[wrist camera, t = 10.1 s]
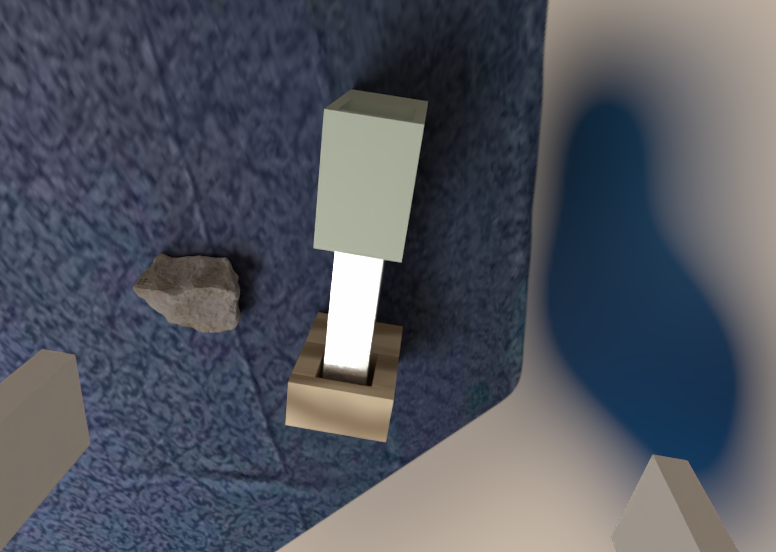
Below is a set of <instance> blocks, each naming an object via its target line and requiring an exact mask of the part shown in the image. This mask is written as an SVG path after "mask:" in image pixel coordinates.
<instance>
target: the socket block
mask: <svg viewBox="0 0 776 552" xmlns="http://www.w3.org/2000/svg"><path fill="white" fill-rule="evenodd" d="M328 317H329V314H326V313H320V312H318V314H317V316H316V319H315V321H314V323H313V326H312V328H311V330H310V333H309V335H308V337H307V340H306V342H305V344H304V347H303V349H302V351H301V353H300V356H299V358H298V360H297V363H296V365H295V367H294V370H293V372H292V374H291V377H290V379H289V381H288V394H287V410H286V425H290V426H295V427H301V428H307V429H313V430H318V431H324V432H330V433H336V434H341V435H347V436H353V437H359V438H364V439H370V440H376V441H382V442H386V438H387V433H388V427H389V422H390V416H391V411H392V405H393V399H394V392H395V384H396V376H397V369H398V361H399V353H400V345H401V338H402V330H403V326H397V325H391V324H385V323H379V322H376V327H375V334H374V340H373V347H372V354H371V361H370V371H369V376H368V381H367V386H363V385H357V384H351V383H345V382H340V381H334V380H328V379H323V368H324V358H325V348H326V338H327V327H328Z"/></svg>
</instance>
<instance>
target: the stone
mask: <svg viewBox="0 0 776 552" xmlns="http://www.w3.org/2000/svg"><path fill="white" fill-rule="evenodd" d="M238 280H239V277H238V275H237V274H236V273H235V272H234V270H233V269H232V265H231V262H230V261H229V259H228V258H226V257H224V258H213V257H207V256H201V255H198V256H186V257H180V258H172V257H169V256H167V255H166V254H160V255H158V256H156V257H155V258H154V261H153V264H152V265H151V266H150V267H148V268H147V270H146V271H145V272H144V273H143V274H142V275H141V276H140V278H139V279H138V280H137V282H136V284H135V285H134V286H133V288H134V291H135V292H136V293H137V295H138V296H139V297H142V298H144V299H145V300H146V302H147V303H148V304H149V305H150V306H151V307H152V308H153V309H155V310H156V311H158V313H162V314H163V315H164V316H165V317H166V318H167V320H168V322H170V323H176V324H179V325H181V326H185V327H186V326H189V327H193V328H194V329H196V330H197V331H201V332H211V333H214V332H223V331H225V330H232V329H234V328H235V327H236V326H237V324H238V323H239V321H240V319H241V314H240V310H239V306H238V301H239V296H240V287H239V284H238Z"/></svg>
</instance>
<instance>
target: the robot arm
mask: <svg viewBox="0 0 776 552" xmlns="http://www.w3.org/2000/svg"><path fill="white" fill-rule="evenodd" d="M89 445H90V439H89V434H88V428H87V422H86V416H85V410H84V404H83V399H82V393H81V387H80V381H79V375H78V369H77V364H76V358H75V355H73V354H67V353H61V352H56V351H50V350H44V349H42V350H41V351H39V352H38V353H37V354H36V355H34V356H33V357H32V358H31V359H30V360H28V361H27V362H26V363H25V364H23V365H22V366H21V367H20V368H18V369H17V370H16V371H15V372H14V373H12V374H11V375H10V376H9V377H7V378H6V379H5V380H4V381H2V382H1V383H0V551H1V550H2V549H3V548H4V547H5V545H6V544H7V543H8V542H9V541H10V539H11V538H12V537H13V536H14V535H15V533H16V532H17V531H18V530H19V529H20V527H21V526H22V525H23V524H24V523H25V521H26V520H27V519H28V518H29V517H30V516H31V514H32V513H33V512H34V511H35V510H36V508H37V507H38V506H39V505H40V504H41V502H42V501H43V500H44V499H45V498H46V496H47V495H48V494H49V493H50V492H51V490H52V489H53V488H54V487H55V486H56V485H57V483H58V482H59V481H60V480H61V479H62V477H63V476H64V475H65V474H66V473H67V471H68V470H69V469H70V468H71V467H72V465H73V464H74V463H75V462H76V461H77V459H78V458H79V457H80V456H81V455H82V453H83V452H84V451H85V450H86V449H87V448H88V446H89ZM611 537H612V540H613V543H614V546H615V549H616V552H739V551H738V550H737V548H736V546H735V544H734V543H733V541H732V539H731V537H730V536H729V534H728V532H727V530H726V528H725V527H724V525H723V523H722V521H721V519H720V518H719V516H718V514H717V512H716V511H715V509H714V507H713V505H712V503H711V502H710V500H709V498H708V496H707V495H706V493H705V491H704V489H703V487H702V486H701V484H700V482H699V480H698V479H697V477H696V475H695V473H694V472H693V470H692V468H691V466H690V465H689V463H688V461H686V460H680V459H675V458H669V457H664V456H658V455H652V457H651V459H650V461H649V463H648V465H647V467H646V469H645V471H644V473H643V475H642V477H641V479H640V481H639V483H638V485H637V487H636V488H635V491H634V493H633V494H632V497H631V499H630V500H629V502H628V504H627V506H626V508H625V510H624V512H623V514H622V516H621V518H620V520H619V522H618V524H617V526H616V528H615V530H614V532H613V534H612V536H611Z"/></svg>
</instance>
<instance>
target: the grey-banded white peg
mask: <svg viewBox="0 0 776 552" xmlns="http://www.w3.org/2000/svg"><path fill="white" fill-rule="evenodd" d="M384 266H385V260H383V259H377V258H371V257H365V256H359V255H353V254H347V253H341V252H335V256H334V266H333V276H332V287H331V297H330V307H329V317H328V327H327V338H326V348H325V358H324V368H323V379H328V380H334V381H340V382H345V383H351V384H357V385H363V386H367V381H368V376H369V371H370V361H371V354H372V347H373V340H374V334H375V327H376V320H377V313H378V307H379V300H380V293H381V286H382V280H383V273H384Z"/></svg>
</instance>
